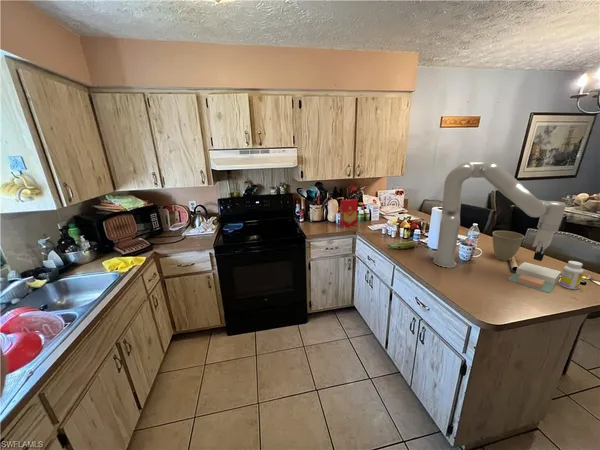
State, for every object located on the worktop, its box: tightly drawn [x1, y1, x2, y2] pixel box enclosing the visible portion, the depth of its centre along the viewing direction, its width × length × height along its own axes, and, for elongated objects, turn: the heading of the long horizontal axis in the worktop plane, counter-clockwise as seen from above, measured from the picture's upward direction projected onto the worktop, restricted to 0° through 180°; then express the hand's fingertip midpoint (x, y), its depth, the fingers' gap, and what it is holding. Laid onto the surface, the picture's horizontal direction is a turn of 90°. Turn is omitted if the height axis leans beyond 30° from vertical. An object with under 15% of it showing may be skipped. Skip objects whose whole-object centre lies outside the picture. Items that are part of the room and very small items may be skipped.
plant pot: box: [492, 230, 525, 262], centre depth 153 cm, size 15×15×16 cm
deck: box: [515, 261, 562, 285], centre depth 132 cm, size 15×12×4 cm
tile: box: [518, 274, 545, 289], centre depth 126 cm, size 9×6×2 cm, turn 35°
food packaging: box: [339, 198, 358, 229], centre depth 228 cm, size 15×5×25 cm, turn 109°
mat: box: [507, 273, 556, 294], centre depth 127 cm, size 16×10×1 cm, turn 35°
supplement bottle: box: [559, 260, 584, 290], centre depth 121 cm, size 7×7×13 cm
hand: (537, 259), depth 128 cm, fingers closed
